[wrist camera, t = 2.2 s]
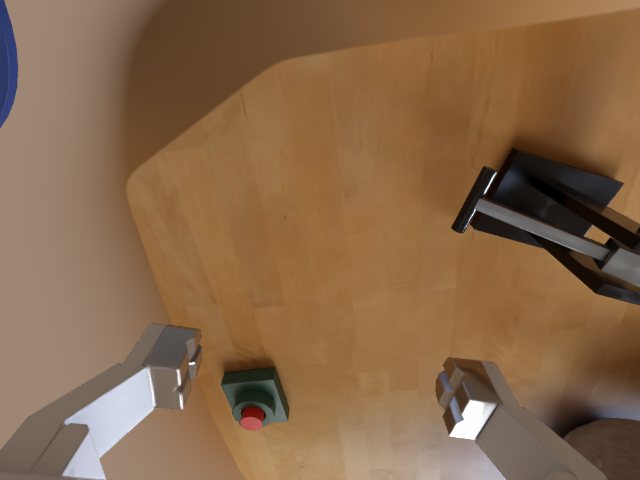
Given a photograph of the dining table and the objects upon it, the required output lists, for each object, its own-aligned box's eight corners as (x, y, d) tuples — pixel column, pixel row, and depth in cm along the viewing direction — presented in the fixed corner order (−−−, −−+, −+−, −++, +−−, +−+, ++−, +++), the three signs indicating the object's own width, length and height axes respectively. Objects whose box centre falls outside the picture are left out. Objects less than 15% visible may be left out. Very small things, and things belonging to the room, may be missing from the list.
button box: (224, 372, 51) (216, 395, 47) (275, 367, 50) (271, 390, 46) (242, 412, 56) (237, 436, 52) (289, 408, 55) (286, 432, 51)
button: (240, 406, 49) (237, 417, 47) (261, 404, 49) (259, 416, 47) (246, 419, 51) (243, 431, 49) (266, 418, 50) (264, 429, 49)
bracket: (469, 224, 38) (536, 302, 26) (512, 147, 34) (615, 198, 22) (562, 249, 39) (666, 335, 27) (614, 179, 35) (766, 243, 23)
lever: (452, 223, 32) (449, 231, 30) (483, 164, 29) (483, 168, 27) (613, 292, 28) (623, 306, 26) (667, 231, 25) (683, 242, 23)
